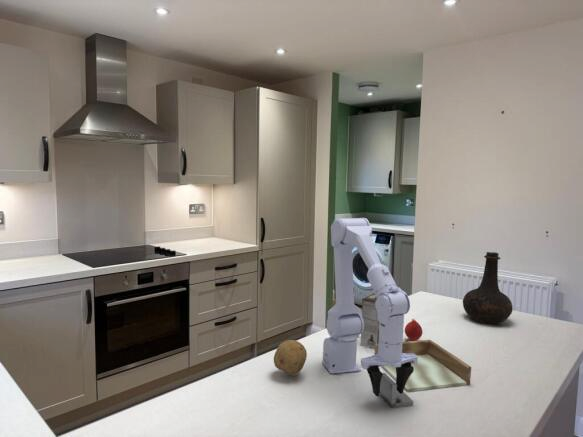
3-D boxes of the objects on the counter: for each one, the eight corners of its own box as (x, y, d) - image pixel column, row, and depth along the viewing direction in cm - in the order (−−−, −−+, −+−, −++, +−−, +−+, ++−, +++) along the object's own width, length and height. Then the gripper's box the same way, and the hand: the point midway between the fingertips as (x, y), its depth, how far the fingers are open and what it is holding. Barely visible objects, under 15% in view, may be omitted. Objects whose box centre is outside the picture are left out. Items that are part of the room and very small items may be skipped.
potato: (277, 384, 107) (278, 348, 106) (270, 369, 115) (271, 335, 114) (309, 381, 109) (311, 345, 108) (300, 366, 118) (301, 333, 117)
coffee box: (372, 336, 142) (374, 292, 140) (389, 341, 138) (391, 296, 136) (359, 344, 134) (361, 298, 133) (377, 350, 131) (379, 302, 129)
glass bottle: (452, 314, 169) (457, 249, 166) (487, 311, 174) (491, 248, 172) (484, 330, 152) (490, 257, 149) (521, 326, 157) (527, 255, 155)
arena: (407, 392, 105) (408, 373, 104) (374, 359, 123) (374, 344, 123) (470, 384, 110) (471, 367, 109) (429, 354, 128) (430, 339, 128)
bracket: (391, 408, 97) (392, 385, 96) (379, 395, 103) (380, 373, 102) (413, 405, 99) (414, 382, 98) (400, 393, 104) (401, 371, 104)
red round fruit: (419, 338, 141) (421, 316, 141) (423, 345, 136) (424, 322, 135) (402, 337, 142) (404, 315, 141) (405, 344, 136) (407, 321, 135)
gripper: (370, 349, 93) (368, 405, 94) (425, 344, 97) (422, 398, 98) (358, 337, 100) (355, 389, 101) (410, 333, 103) (407, 383, 105)
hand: (387, 392), depth 100 cm, fingers open, 6 cm apart
